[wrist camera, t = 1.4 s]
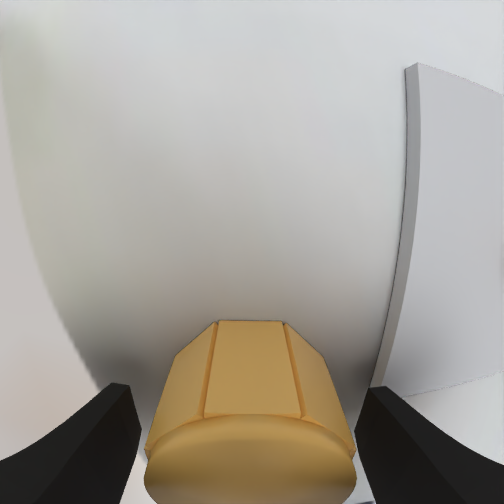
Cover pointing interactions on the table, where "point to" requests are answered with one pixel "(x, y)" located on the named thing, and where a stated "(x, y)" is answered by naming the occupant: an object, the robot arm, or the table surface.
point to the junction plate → (448, 239)
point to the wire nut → (249, 422)
